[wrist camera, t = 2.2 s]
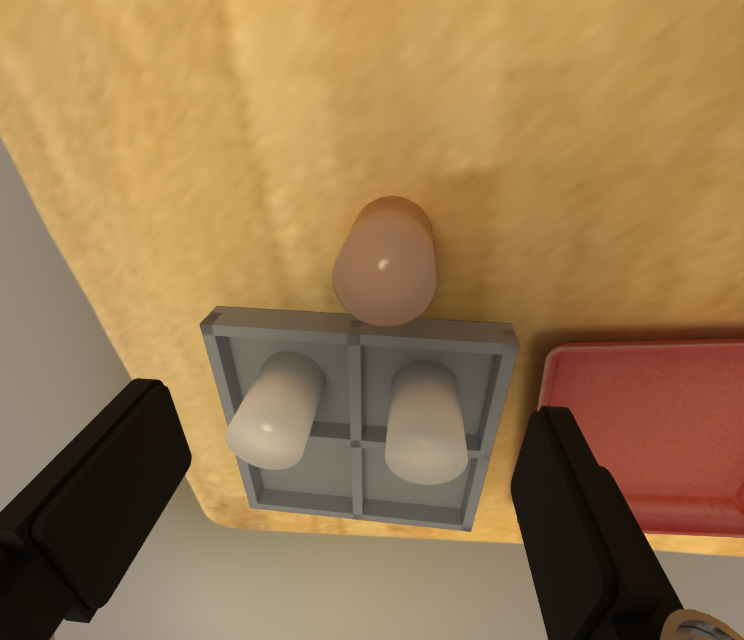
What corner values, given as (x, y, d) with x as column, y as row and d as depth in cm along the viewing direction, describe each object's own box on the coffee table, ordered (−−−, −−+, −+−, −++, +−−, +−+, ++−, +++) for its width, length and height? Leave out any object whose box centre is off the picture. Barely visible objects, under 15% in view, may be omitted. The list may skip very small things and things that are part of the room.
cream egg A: (257, 348, 26) (218, 412, 21) (323, 353, 25) (299, 419, 20) (267, 398, 28) (233, 466, 23) (327, 403, 28) (306, 473, 23)
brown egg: (351, 194, 21) (329, 228, 16) (436, 197, 20) (442, 233, 15) (353, 272, 23) (334, 323, 18) (428, 275, 23) (431, 329, 17)
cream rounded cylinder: (392, 358, 25) (385, 426, 20) (462, 363, 25) (473, 433, 20) (390, 408, 27) (383, 480, 22) (453, 413, 27) (462, 488, 22)
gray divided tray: (216, 306, 25) (199, 324, 23) (511, 323, 24) (519, 344, 22) (259, 485, 35) (250, 508, 33) (467, 506, 34) (471, 531, 32)
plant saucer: (740, 501, 30) (772, 543, 28) (508, 493, 33) (516, 531, 30) (868, 306, 21) (936, 339, 18) (532, 317, 24) (547, 347, 21)
